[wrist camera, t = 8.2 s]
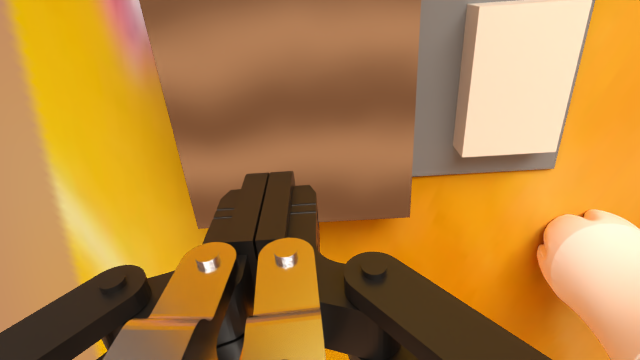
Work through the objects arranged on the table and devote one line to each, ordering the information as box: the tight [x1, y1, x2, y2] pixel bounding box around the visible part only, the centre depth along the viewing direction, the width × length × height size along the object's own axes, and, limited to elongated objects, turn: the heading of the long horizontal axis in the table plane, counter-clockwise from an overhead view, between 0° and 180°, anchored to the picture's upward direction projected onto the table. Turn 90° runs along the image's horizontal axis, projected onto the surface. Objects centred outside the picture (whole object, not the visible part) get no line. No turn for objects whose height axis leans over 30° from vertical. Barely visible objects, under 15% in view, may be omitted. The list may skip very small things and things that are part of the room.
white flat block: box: [453, 0, 592, 157], centre depth 24 cm, size 9×6×2 cm, turn 4°
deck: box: [139, 0, 421, 229], centre depth 24 cm, size 16×14×4 cm
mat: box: [412, 0, 595, 177], centre depth 25 cm, size 15×11×1 cm
